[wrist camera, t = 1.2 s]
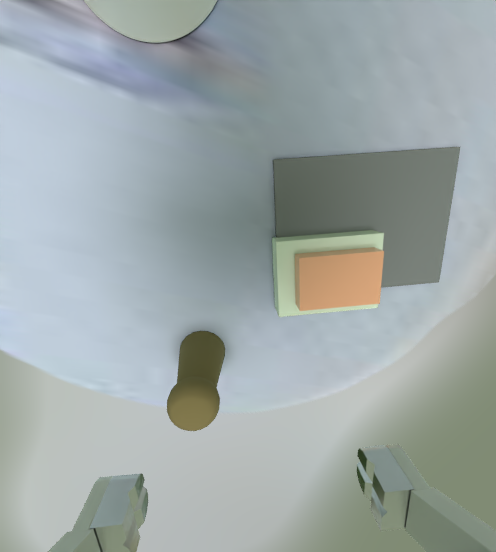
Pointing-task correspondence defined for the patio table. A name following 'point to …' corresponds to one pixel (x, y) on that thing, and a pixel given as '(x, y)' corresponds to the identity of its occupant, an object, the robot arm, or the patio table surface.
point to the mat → (374, 204)
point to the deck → (294, 245)
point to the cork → (197, 382)
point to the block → (338, 278)
